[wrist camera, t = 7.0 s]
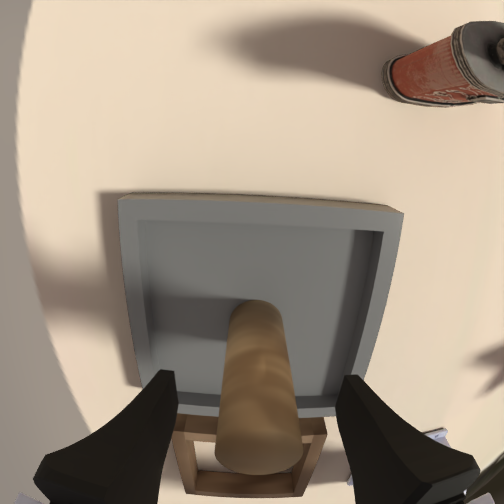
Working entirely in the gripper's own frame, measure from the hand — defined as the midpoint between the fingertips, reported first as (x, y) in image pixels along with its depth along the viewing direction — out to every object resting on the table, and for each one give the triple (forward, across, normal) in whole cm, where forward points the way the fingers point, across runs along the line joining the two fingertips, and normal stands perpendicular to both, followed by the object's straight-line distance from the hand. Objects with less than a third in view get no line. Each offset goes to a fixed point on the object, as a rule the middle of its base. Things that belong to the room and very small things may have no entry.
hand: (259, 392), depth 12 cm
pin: (+6, 0, 0) cm, 6 cm away
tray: (+6, 0, 0) cm, 6 cm away
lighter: (+7, -10, -15) cm, 19 cm away
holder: (+6, 0, +14) cm, 15 cm away
